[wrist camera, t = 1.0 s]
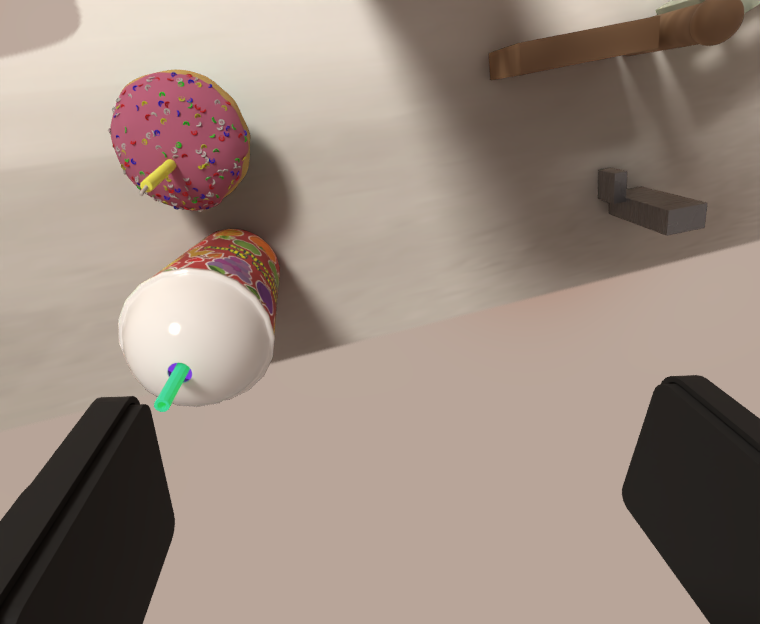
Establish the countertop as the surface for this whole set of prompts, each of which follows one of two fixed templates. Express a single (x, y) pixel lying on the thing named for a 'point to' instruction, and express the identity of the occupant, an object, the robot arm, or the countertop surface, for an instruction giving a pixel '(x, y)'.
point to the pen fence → (622, 39)
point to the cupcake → (180, 139)
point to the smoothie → (204, 322)
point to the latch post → (649, 205)
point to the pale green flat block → (686, 0)
